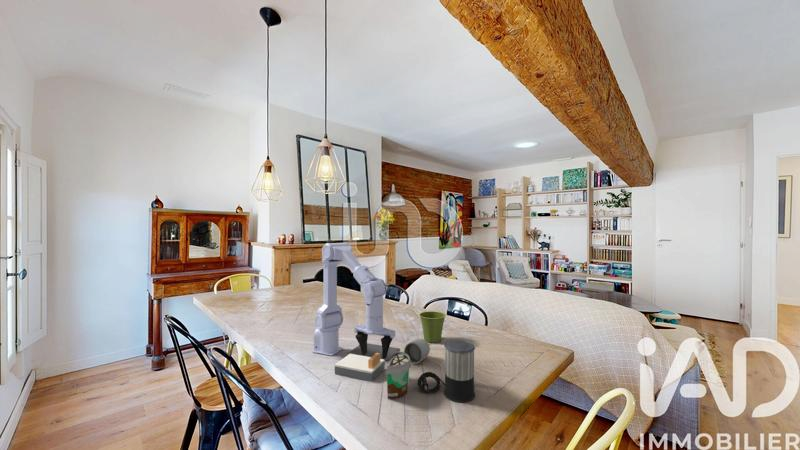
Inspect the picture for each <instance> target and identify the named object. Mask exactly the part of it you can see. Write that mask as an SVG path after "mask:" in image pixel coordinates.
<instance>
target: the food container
mask: <svg viewBox="0 0 800 450" xmlns="http://www.w3.org/2000/svg"><path fill="white" fill-rule="evenodd" d="M390 360H391V361H390V363H389V365H386V380H387V381H386V385H387V387H386V388H387V389H386V390H387V391H386V392H387V400H389V399H390V400H394V399H396V398H397V399H401V398H403V397H404V396H406V395H407V394H408V388H409V375H410V374H409V373H410V369H411V368H412V364H411V360H410V358H409V356H408V355H407V354H406V353H404V351H399V350H398V351H395V354H394V355H393V357H392V359H390ZM400 397H401V398H400ZM397 399H396V400H397Z"/></svg>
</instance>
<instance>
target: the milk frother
mask: <svg viewBox="0 0 800 450" xmlns="http://www.w3.org/2000/svg"><path fill="white" fill-rule="evenodd" d="M443 346H444V370H445V371H444V381H443V380H442V379H441V378H440V376H438V375H437V374H436V373H434V372H432V371H425V372H424V373H422V374H421V375H419V377H418V379H417V383H416V384H417V387H418V389H419V390H420V391H421V392H423V393H426V394H433V393H436V392H437V391H439V390H440V388H441V384H442V385H444V388H443V395H444V396H445V397H446V398H447V399H448V400H450V401H453V402H456V403H467V402H471V401H473V400H474V399H475V397H476V394H475V350H476V345H475V344H474V343H472V342H470V341H467V340H463V339H450V340H448V341H445V342H444V344H443ZM427 378H432V379H434V380H435V382H436V385H435V386H434V387H432V388H429V384H430V383H429V382H428V380H427Z"/></svg>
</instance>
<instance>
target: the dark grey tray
mask: <svg viewBox="0 0 800 450" xmlns="http://www.w3.org/2000/svg"><path fill="white" fill-rule="evenodd" d="M385 365H386V364H385V361H384V362H383V363H382V364H381V365H380V366H379V367H378V368H377V369H376V370H375V371H374V372H373V373H372V374H371V373H365V372H360V371H355V370H350V369H345V368H340V367H335V366H334V375H337V376H341V377H346V378H350V379H351V378H352V379H357V380H362V381H366V382H373V381H374V380H375V379H376V378H377V377H379V375H380V374H381V373H382V372H383V371H384V370H385V369H386V368H385Z"/></svg>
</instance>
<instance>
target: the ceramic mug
mask: <svg viewBox="0 0 800 450" xmlns="http://www.w3.org/2000/svg"><path fill="white" fill-rule="evenodd" d="M430 351H431V348H430V344H429V342H427V341H426V340H424V338H417V339H414V340H412V341H410V342H408V343H406V345H405V347H404V349H403V352H404V353H406V354H407V355H408V356H409V358H410V360H411V365H418V364H420V363H421V362H422V361H423V360H424V359H426V358H427V357H428V356H429V354H430Z"/></svg>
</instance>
